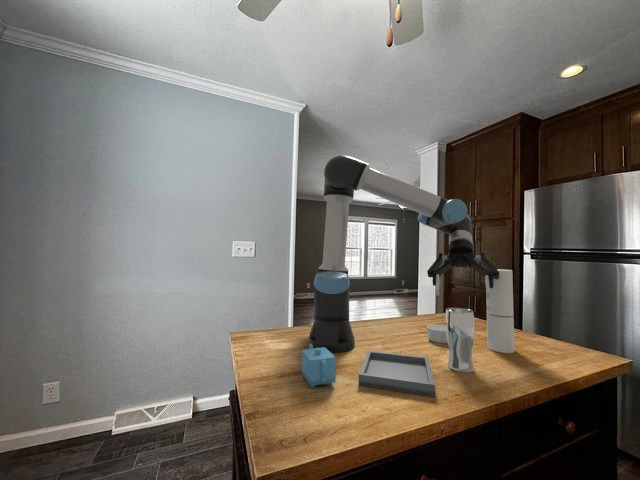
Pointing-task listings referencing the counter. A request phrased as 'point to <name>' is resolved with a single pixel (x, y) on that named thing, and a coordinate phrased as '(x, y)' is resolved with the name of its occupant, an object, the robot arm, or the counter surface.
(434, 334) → the ramekin
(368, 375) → the tray
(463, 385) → the counter surface
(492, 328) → the cylindrical container
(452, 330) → the beer glass
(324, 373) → the teapot
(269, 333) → the counter surface
